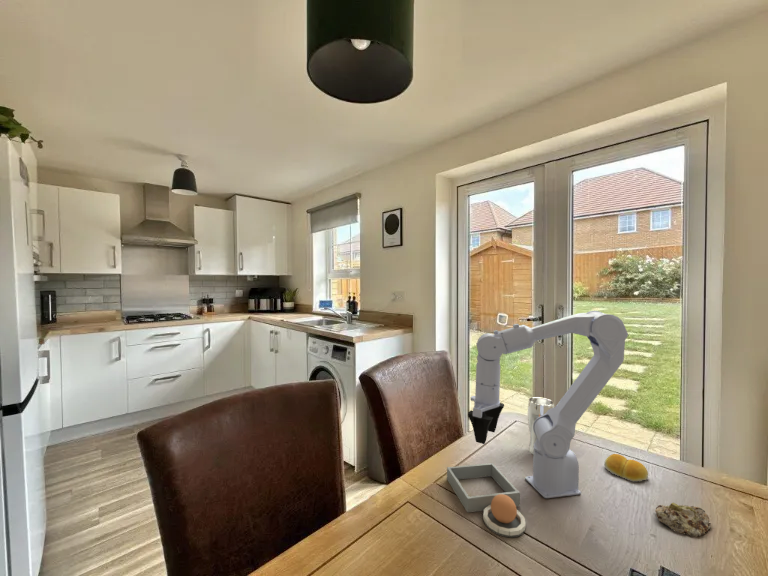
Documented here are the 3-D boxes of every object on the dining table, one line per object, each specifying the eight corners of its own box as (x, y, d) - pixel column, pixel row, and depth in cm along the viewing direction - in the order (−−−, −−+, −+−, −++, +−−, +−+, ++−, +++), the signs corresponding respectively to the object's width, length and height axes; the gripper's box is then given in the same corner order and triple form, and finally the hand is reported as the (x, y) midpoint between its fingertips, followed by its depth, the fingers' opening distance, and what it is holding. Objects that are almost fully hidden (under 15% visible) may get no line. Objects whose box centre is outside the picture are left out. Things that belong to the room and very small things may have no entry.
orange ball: (508, 510, 73) (508, 487, 73) (521, 527, 68) (521, 503, 68) (486, 513, 72) (486, 490, 72) (498, 530, 67) (498, 505, 67)
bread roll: (643, 487, 83) (643, 471, 82) (601, 471, 89) (601, 456, 89) (651, 474, 88) (652, 459, 88) (611, 460, 95) (611, 446, 95)
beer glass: (558, 459, 95) (559, 405, 94) (532, 458, 95) (534, 405, 94) (546, 446, 102) (547, 396, 101) (523, 446, 102) (524, 396, 101)
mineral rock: (683, 530, 65) (647, 494, 73) (676, 547, 67) (641, 509, 74) (731, 527, 67) (691, 492, 74) (723, 544, 68) (684, 507, 76)
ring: (511, 507, 75) (511, 502, 75) (533, 534, 67) (533, 528, 67) (476, 511, 73) (477, 506, 73) (495, 539, 65) (495, 533, 65)
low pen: (492, 474, 87) (492, 462, 87) (519, 506, 75) (520, 492, 75) (446, 479, 85) (447, 467, 85) (467, 512, 73) (467, 498, 73)
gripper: (481, 373, 93) (479, 422, 94) (461, 386, 81) (459, 442, 82) (508, 378, 89) (506, 429, 90) (490, 393, 77) (488, 452, 78)
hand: (485, 436), depth 85 cm, fingers open, 7 cm apart
